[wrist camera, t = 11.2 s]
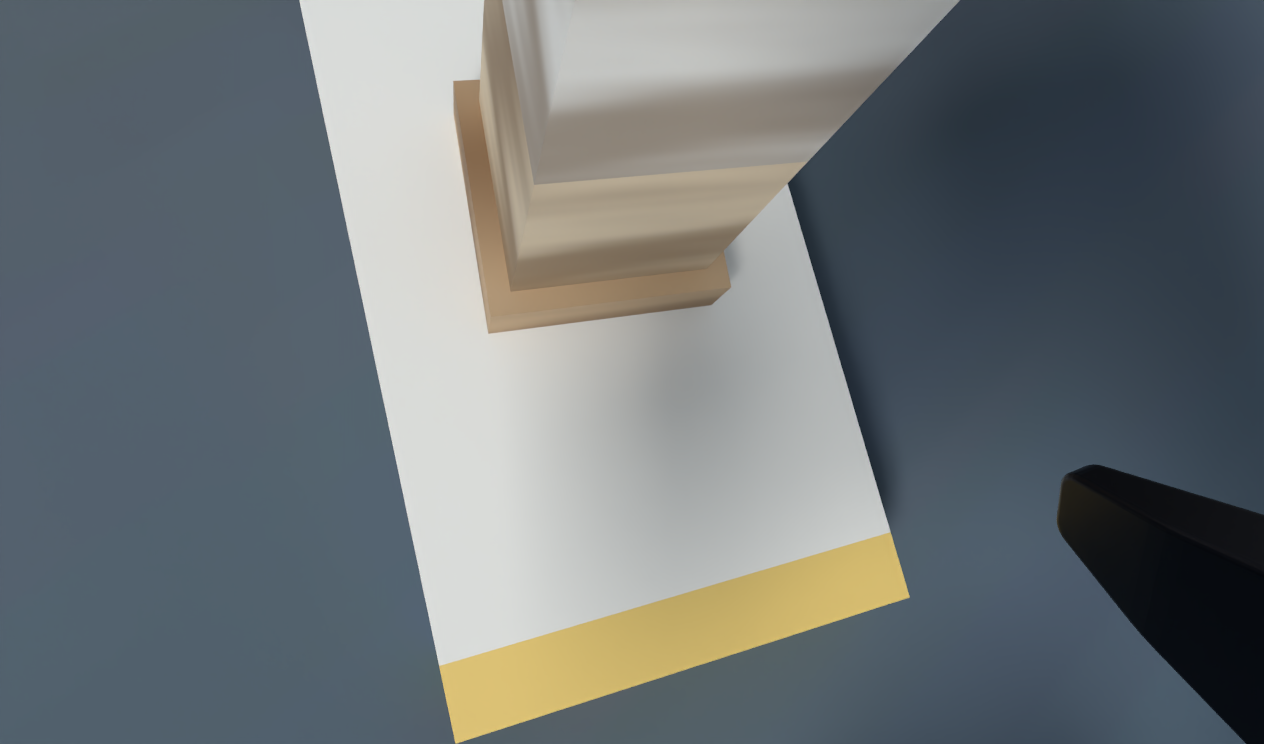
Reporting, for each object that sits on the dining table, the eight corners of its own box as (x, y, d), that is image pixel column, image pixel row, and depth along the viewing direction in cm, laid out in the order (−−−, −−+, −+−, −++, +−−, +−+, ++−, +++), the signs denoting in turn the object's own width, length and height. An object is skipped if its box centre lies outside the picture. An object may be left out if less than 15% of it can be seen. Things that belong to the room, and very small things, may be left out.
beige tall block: (711, 305, 20) (1104, -47, 8) (488, 333, 18) (545, -38, 6) (669, 101, 21) (964, -501, 9) (453, 114, 19) (447, -573, 7)
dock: (850, 588, 22) (909, 597, 19) (455, 712, 19) (455, 743, 17) (685, 10, 25) (716, -59, 22) (315, 47, 22) (293, -26, 19)
